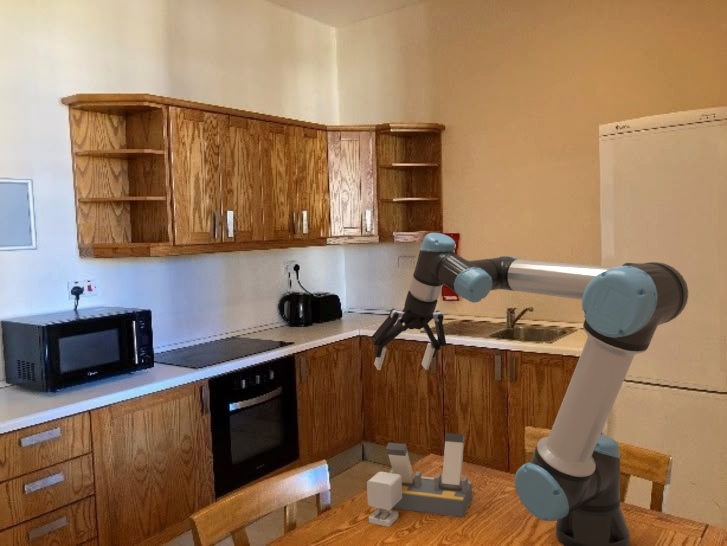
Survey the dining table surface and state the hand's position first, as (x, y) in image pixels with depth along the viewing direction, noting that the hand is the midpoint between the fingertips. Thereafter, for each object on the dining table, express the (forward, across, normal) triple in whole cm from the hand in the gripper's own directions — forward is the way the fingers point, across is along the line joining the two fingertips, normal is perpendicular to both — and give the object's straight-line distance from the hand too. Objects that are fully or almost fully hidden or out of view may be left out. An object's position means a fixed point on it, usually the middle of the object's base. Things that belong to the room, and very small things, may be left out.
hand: (401, 367), depth 160 cm
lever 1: (+25, -2, +14) cm, 29 cm away
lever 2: (+21, -11, +21) cm, 32 cm away
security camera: (+28, +6, +22) cm, 37 cm away
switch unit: (+28, -7, +20) cm, 35 cm away
